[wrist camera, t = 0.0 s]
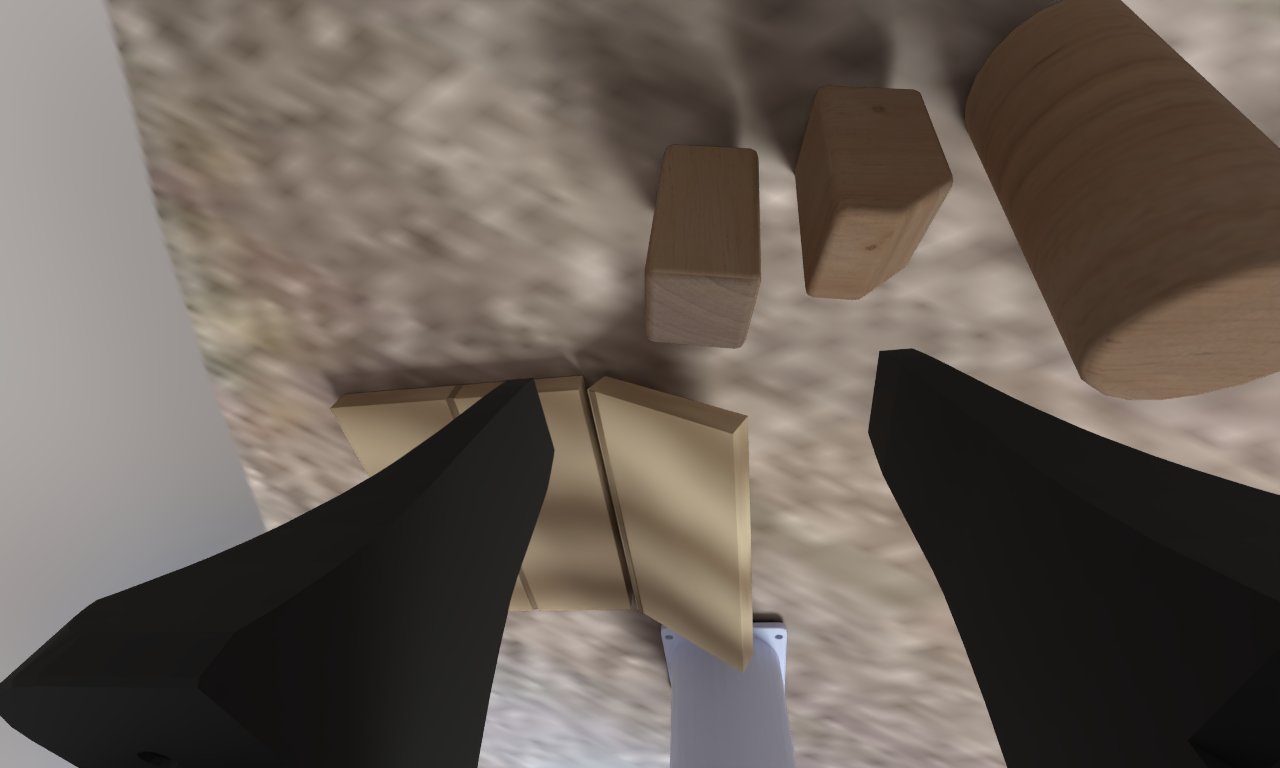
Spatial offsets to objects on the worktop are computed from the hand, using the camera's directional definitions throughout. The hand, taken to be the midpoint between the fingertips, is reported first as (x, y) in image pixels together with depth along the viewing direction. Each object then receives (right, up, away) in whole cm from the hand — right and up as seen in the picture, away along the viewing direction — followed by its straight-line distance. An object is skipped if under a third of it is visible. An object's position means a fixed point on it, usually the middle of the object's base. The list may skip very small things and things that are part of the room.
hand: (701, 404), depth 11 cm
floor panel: (-9, -6, +17) cm, 20 cm away
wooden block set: (+8, +8, +7) cm, 13 cm away
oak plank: (+1, -7, +14) cm, 15 cm away
